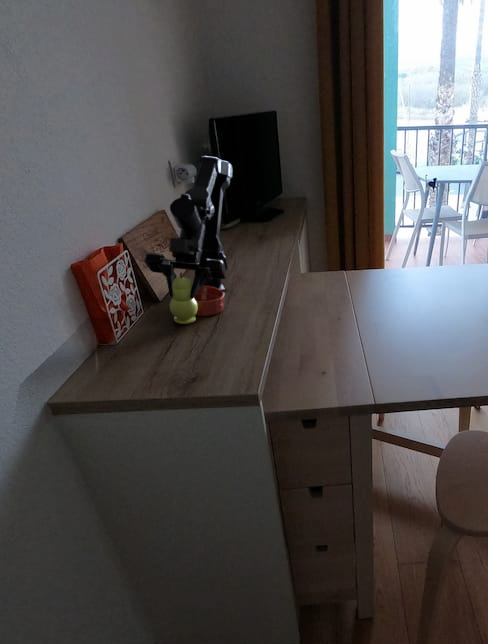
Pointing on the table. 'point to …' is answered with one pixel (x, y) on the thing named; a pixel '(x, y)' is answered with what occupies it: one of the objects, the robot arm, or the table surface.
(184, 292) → the pear
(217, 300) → the bowl
